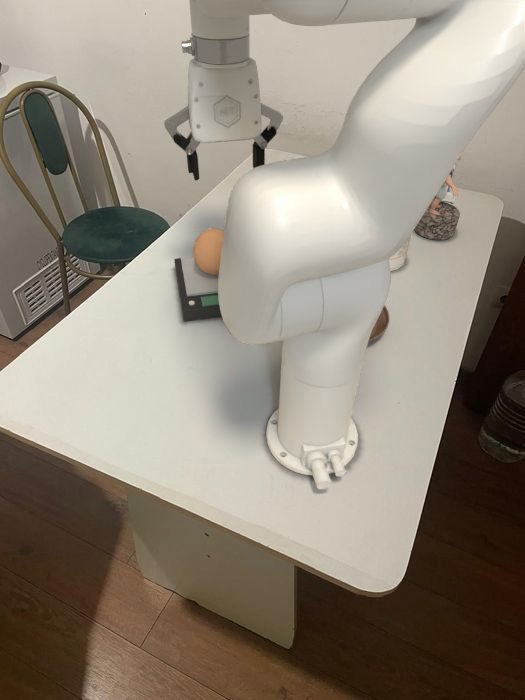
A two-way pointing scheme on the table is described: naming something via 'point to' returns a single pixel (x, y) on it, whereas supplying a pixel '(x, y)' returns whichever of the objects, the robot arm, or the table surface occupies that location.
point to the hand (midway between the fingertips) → (226, 173)
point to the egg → (209, 251)
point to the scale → (196, 291)
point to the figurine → (441, 213)
